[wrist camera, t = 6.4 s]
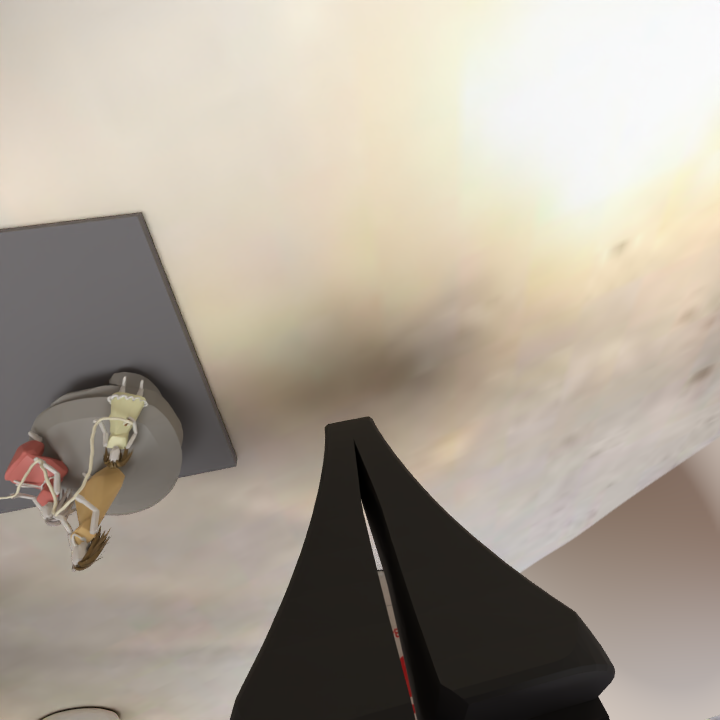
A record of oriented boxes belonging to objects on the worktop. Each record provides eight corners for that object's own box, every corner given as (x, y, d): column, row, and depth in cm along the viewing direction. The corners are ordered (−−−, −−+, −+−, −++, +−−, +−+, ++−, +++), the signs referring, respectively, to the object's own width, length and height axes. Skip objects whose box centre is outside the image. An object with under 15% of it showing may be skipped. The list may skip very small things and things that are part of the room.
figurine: (171, 486, 15) (123, 648, 10) (40, 464, 14) (-100, 643, 8) (212, 375, 14) (181, 497, 8) (70, 335, 12) (-80, 454, 7)
